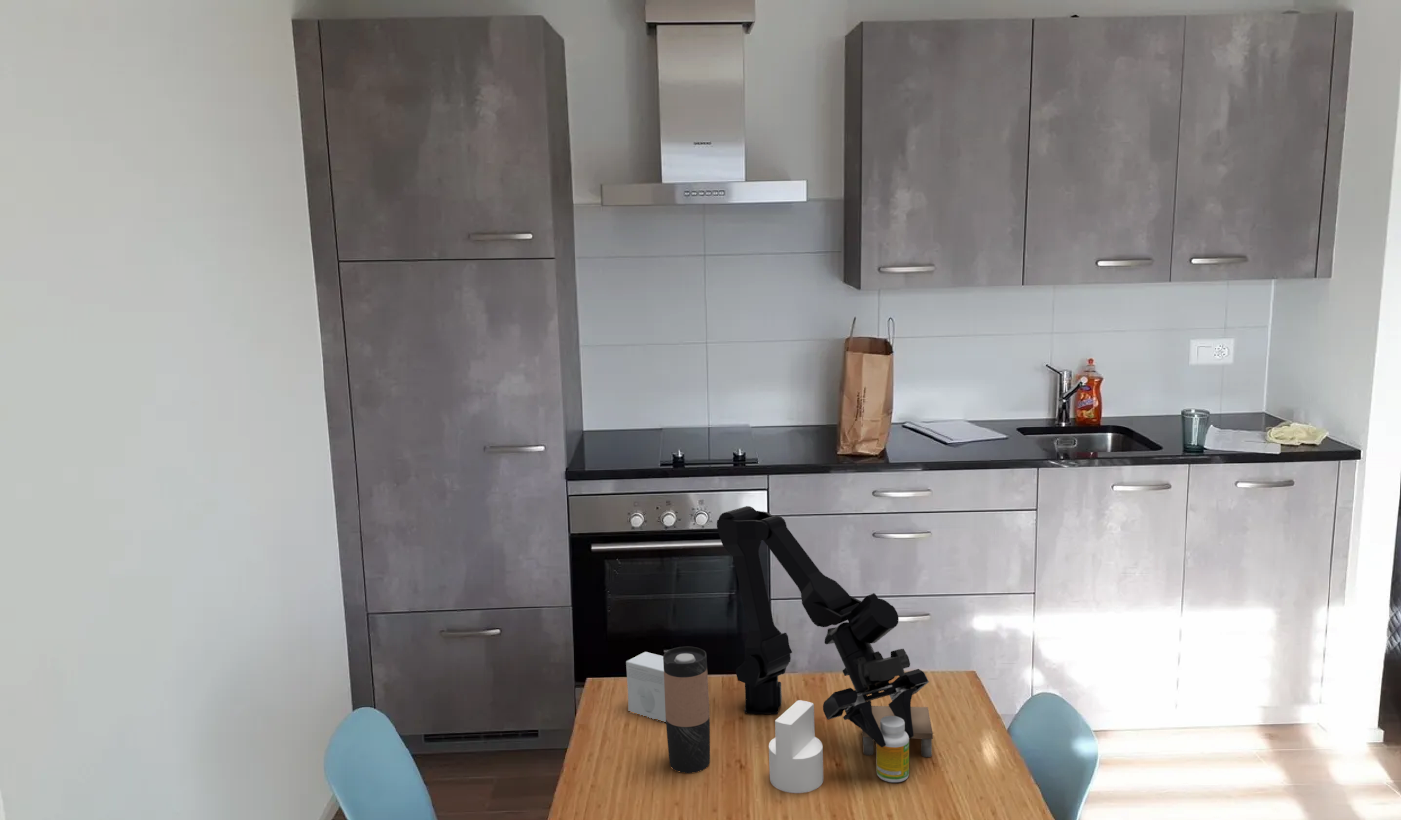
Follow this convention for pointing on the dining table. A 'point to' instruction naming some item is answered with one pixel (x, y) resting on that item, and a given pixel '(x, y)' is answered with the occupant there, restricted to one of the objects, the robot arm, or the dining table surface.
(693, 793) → the dining table surface
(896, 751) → the supplement bottle
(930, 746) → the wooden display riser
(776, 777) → the base with upright slab
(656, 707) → the skincare box
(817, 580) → the robot arm
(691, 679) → the travel mug
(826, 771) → the dining table surface
